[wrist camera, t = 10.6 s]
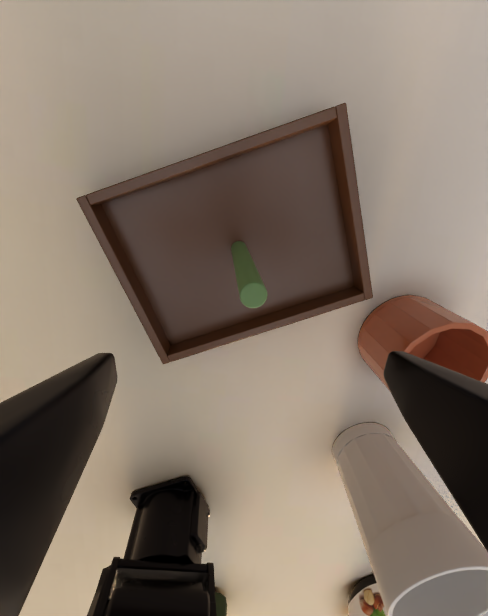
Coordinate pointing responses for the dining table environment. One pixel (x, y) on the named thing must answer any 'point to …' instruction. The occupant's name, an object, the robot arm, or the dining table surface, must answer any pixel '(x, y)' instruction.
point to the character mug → (220, 605)
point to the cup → (409, 530)
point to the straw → (247, 277)
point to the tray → (238, 235)
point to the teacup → (423, 337)
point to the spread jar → (366, 599)
